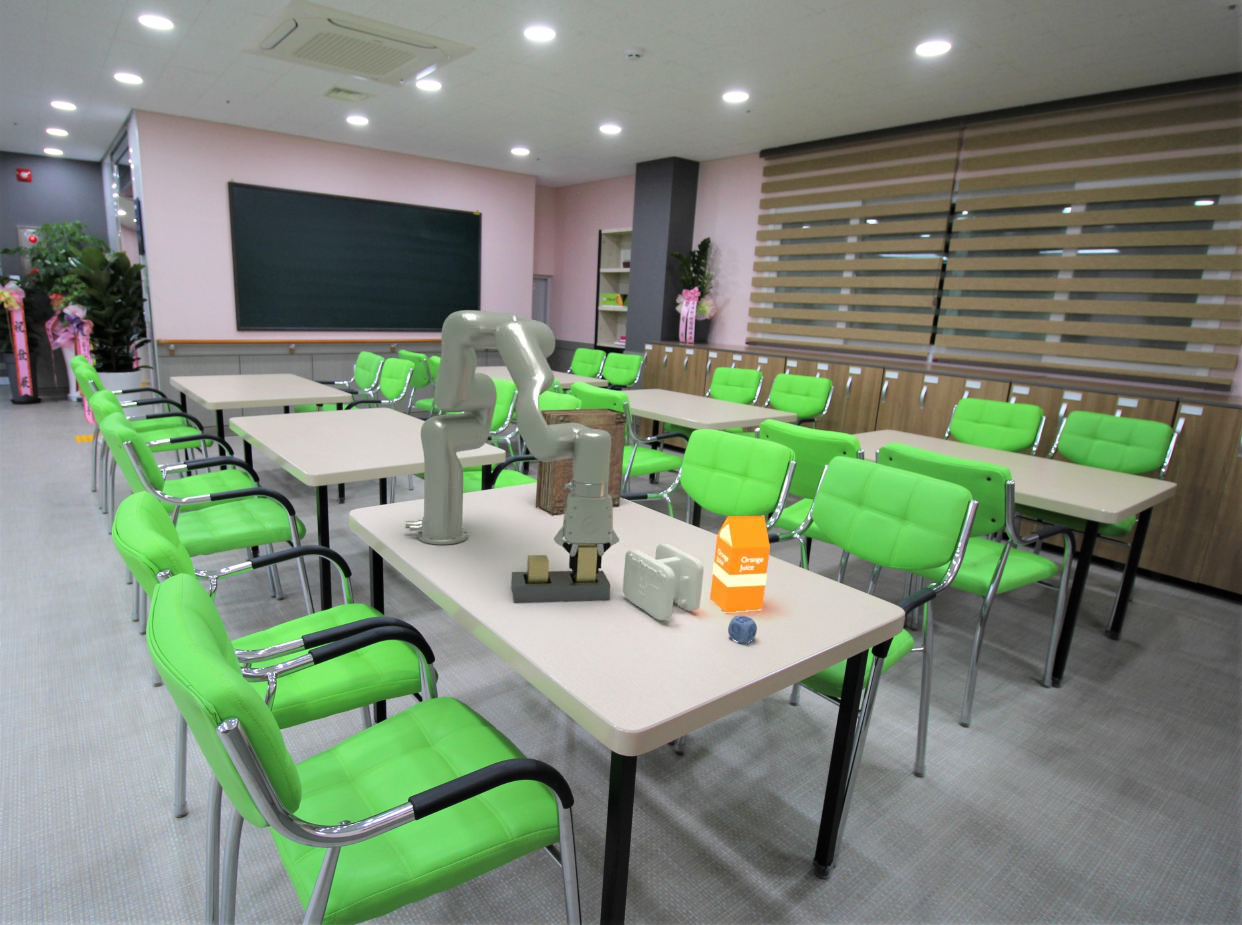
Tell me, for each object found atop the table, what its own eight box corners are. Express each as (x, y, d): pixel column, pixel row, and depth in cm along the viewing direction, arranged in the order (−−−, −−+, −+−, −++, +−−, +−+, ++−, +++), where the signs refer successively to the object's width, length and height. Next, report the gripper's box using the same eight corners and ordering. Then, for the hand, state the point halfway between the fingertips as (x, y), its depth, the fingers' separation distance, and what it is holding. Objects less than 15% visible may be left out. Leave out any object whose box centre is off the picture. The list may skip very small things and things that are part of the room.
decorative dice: (755, 639, 130) (758, 620, 129) (744, 646, 127) (746, 626, 126) (738, 632, 132) (740, 613, 132) (726, 638, 130) (729, 619, 129)
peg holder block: (513, 602, 138) (515, 565, 136) (511, 587, 145) (512, 552, 144) (609, 600, 143) (612, 564, 141) (601, 585, 150) (604, 551, 148)
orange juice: (762, 611, 143) (774, 521, 139) (724, 614, 140) (735, 522, 136) (745, 596, 150) (756, 510, 146) (709, 598, 148) (718, 510, 143)
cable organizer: (702, 617, 138) (708, 563, 136) (661, 627, 132) (667, 571, 130) (658, 590, 150) (662, 540, 148) (618, 598, 144) (623, 546, 142)
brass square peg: (576, 583, 142) (578, 547, 140) (573, 576, 146) (575, 541, 144) (595, 583, 143) (597, 547, 141) (591, 576, 147) (594, 541, 145)
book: (551, 516, 198) (556, 415, 191) (535, 507, 205) (540, 410, 199) (619, 506, 213) (626, 412, 207) (602, 499, 220) (609, 408, 214)
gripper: (552, 493, 135) (547, 579, 138) (633, 493, 139) (626, 577, 142) (547, 483, 142) (543, 565, 146) (624, 484, 146) (618, 564, 150)
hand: (584, 570), depth 144 cm, fingers closed on brass square peg, 4 cm apart
